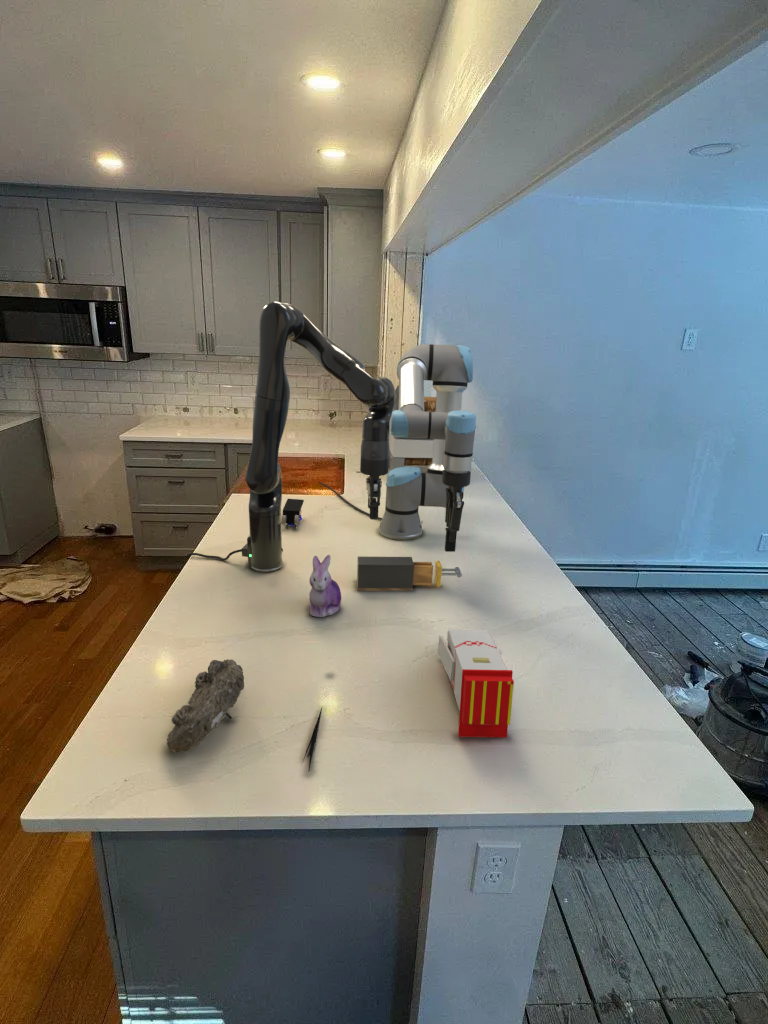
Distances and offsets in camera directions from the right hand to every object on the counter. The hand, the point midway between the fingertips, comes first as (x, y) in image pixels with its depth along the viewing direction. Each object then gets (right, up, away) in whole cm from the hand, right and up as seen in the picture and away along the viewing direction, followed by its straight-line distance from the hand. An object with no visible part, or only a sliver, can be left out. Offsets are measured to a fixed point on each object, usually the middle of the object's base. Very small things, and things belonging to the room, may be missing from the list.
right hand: (449, 550), depth 160 cm
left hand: (-22, +10, -6) cm, 25 cm away
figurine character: (-51, +6, +45) cm, 68 cm away
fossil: (-51, -28, -52) cm, 78 cm away
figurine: (-34, -15, -12) cm, 39 cm away
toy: (-1, -27, -41) cm, 49 cm away
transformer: (-1, +30, +115) cm, 119 cm away
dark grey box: (-18, -10, +2) cm, 21 cm away
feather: (-31, -29, -51) cm, 66 cm away
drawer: (-7, -10, +3) cm, 12 cm away
